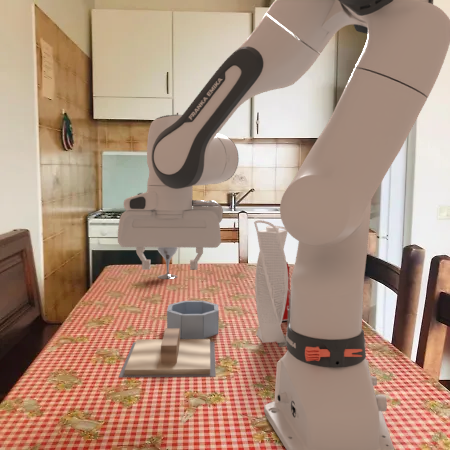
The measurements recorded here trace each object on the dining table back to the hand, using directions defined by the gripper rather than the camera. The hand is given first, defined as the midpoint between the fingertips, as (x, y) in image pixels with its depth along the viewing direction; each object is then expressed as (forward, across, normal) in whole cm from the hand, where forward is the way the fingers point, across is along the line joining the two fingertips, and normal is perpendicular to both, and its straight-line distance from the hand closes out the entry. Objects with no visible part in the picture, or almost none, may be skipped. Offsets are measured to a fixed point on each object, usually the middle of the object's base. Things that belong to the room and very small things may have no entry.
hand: (170, 269), depth 96 cm
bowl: (+19, -4, -17) cm, 26 cm away
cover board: (+18, 0, 0) cm, 18 cm away
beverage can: (+19, -26, -27) cm, 42 cm away
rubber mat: (+19, 0, 0) cm, 19 cm away
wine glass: (+19, +7, -76) cm, 79 cm away
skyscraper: (+19, -22, -11) cm, 31 cm away
